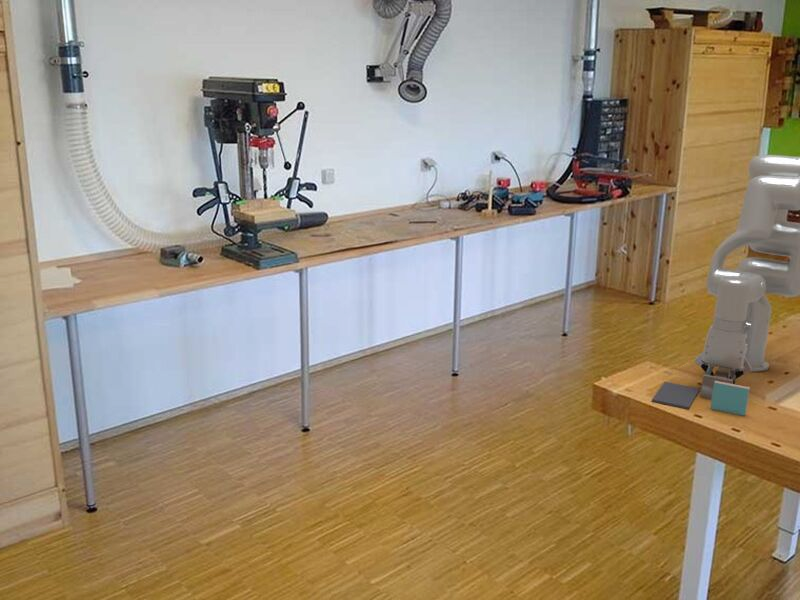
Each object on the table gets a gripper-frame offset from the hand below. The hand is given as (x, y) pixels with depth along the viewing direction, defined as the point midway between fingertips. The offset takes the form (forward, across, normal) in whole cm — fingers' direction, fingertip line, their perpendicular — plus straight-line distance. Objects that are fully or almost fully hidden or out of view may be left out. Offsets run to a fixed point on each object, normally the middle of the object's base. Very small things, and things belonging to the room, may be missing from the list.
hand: (719, 390), depth 207 cm
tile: (0, -4, +13) cm, 14 cm away
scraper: (0, 0, 0) cm, 0 cm away
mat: (0, +9, +10) cm, 13 cm away
